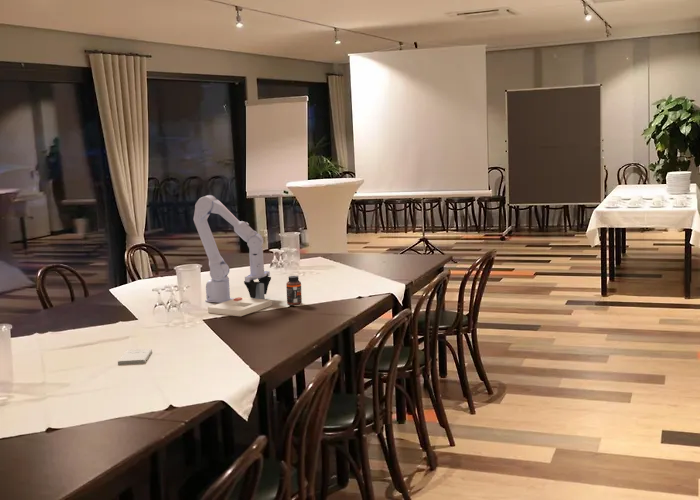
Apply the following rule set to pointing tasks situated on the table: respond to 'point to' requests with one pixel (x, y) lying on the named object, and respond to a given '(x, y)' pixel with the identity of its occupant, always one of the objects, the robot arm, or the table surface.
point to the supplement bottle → (294, 291)
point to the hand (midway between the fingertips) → (258, 295)
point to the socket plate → (239, 306)
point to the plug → (260, 291)
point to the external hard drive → (135, 356)
